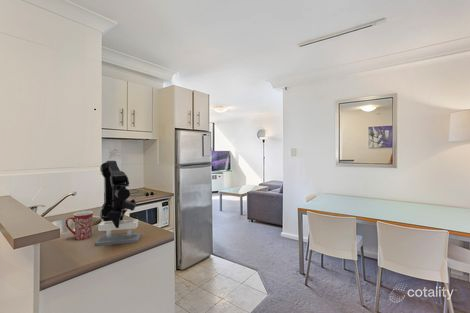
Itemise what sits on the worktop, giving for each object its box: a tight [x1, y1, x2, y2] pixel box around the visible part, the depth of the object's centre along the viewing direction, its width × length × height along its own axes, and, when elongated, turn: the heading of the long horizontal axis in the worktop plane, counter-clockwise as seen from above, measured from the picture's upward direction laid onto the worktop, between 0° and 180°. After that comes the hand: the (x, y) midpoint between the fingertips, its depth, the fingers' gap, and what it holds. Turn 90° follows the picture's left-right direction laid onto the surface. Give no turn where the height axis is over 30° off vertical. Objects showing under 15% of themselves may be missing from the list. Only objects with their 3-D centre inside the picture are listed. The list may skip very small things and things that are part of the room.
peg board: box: [94, 229, 142, 247], centre depth 120 cm, size 10×20×6 cm, turn 104°
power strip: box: [97, 218, 139, 232], centre depth 120 cm, size 6×18×3 cm, turn 104°
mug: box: [65, 210, 94, 241], centre depth 123 cm, size 13×9×14 cm
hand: (119, 225), depth 120 cm, fingers closed on power strip, 6 cm apart
